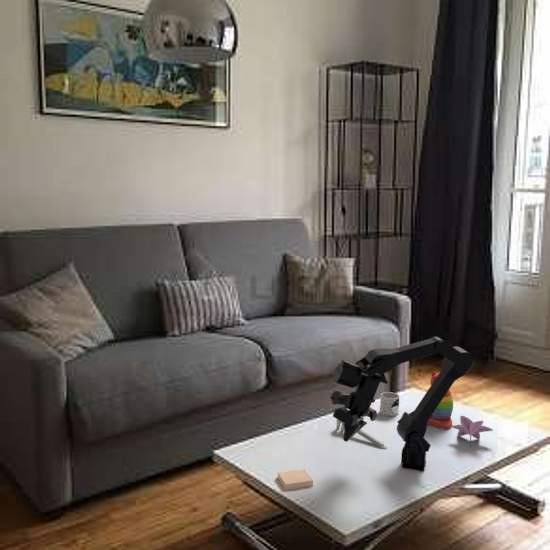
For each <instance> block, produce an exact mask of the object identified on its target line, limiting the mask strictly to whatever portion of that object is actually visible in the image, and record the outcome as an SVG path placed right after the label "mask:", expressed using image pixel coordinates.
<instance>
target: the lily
mask: <svg viewBox="0 0 550 550" xmlns="http://www.w3.org/2000/svg"><path fill="white" fill-rule="evenodd" d="M459 421H460V424H456V425H452V426H451V428H453V429H455V430H458V431H457V434H456V435H457V437H463V436H466V435H468V436H469V443H470V444H469V446H470V448H471V449H472V437H473V438H475V439H477V440H480V439H481V434H480V433H485V432H493V431H494V429H493V428H491V427H488V426H485V425H483V424H484V420H477V421H473V420H471V419H470V418H469V417H467V416H465V415H460V417H459Z"/></svg>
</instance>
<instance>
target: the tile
mask: <svg viewBox="0 0 550 550" xmlns="http://www.w3.org/2000/svg"><path fill="white" fill-rule="evenodd" d="M277 479H278V480H279V483H281V485H282V487H284V489H285V490H286V491H287V490H294V489H299V488H304V487H307V488H308V487H313V486H314V480H313V478H312V477H311V476H310V475H309V473H308V472H307V471H306V469H305V468H301V469H295V470H287V471H281V472H278V473H277Z"/></svg>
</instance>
